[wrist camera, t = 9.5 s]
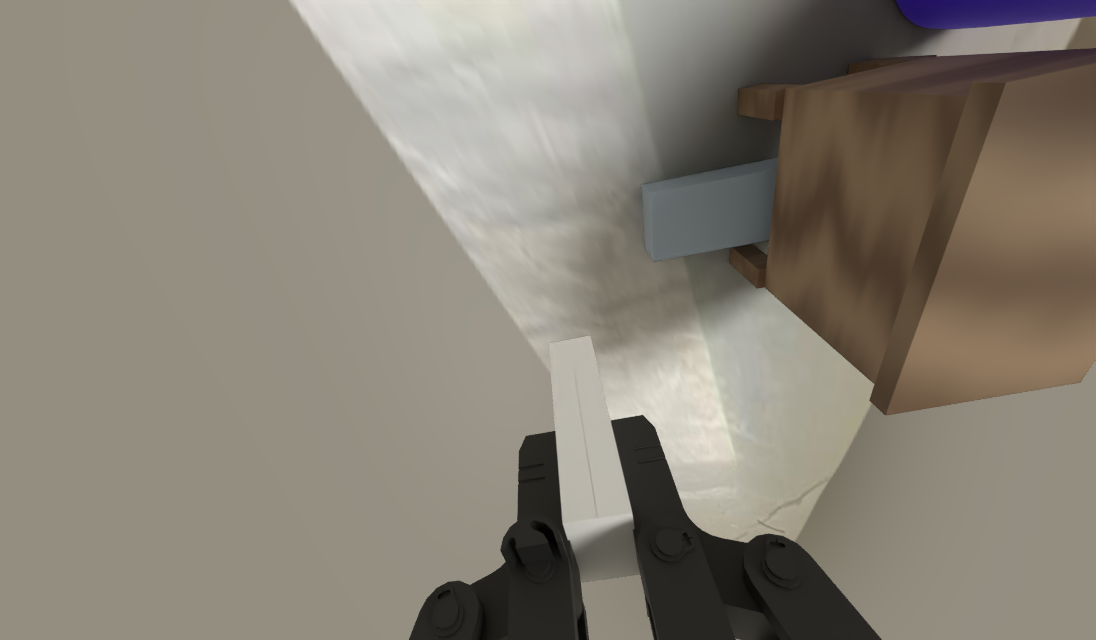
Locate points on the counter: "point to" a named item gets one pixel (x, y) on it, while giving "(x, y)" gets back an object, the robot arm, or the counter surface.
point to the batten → (709, 210)
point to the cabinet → (938, 221)
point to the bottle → (991, 12)
